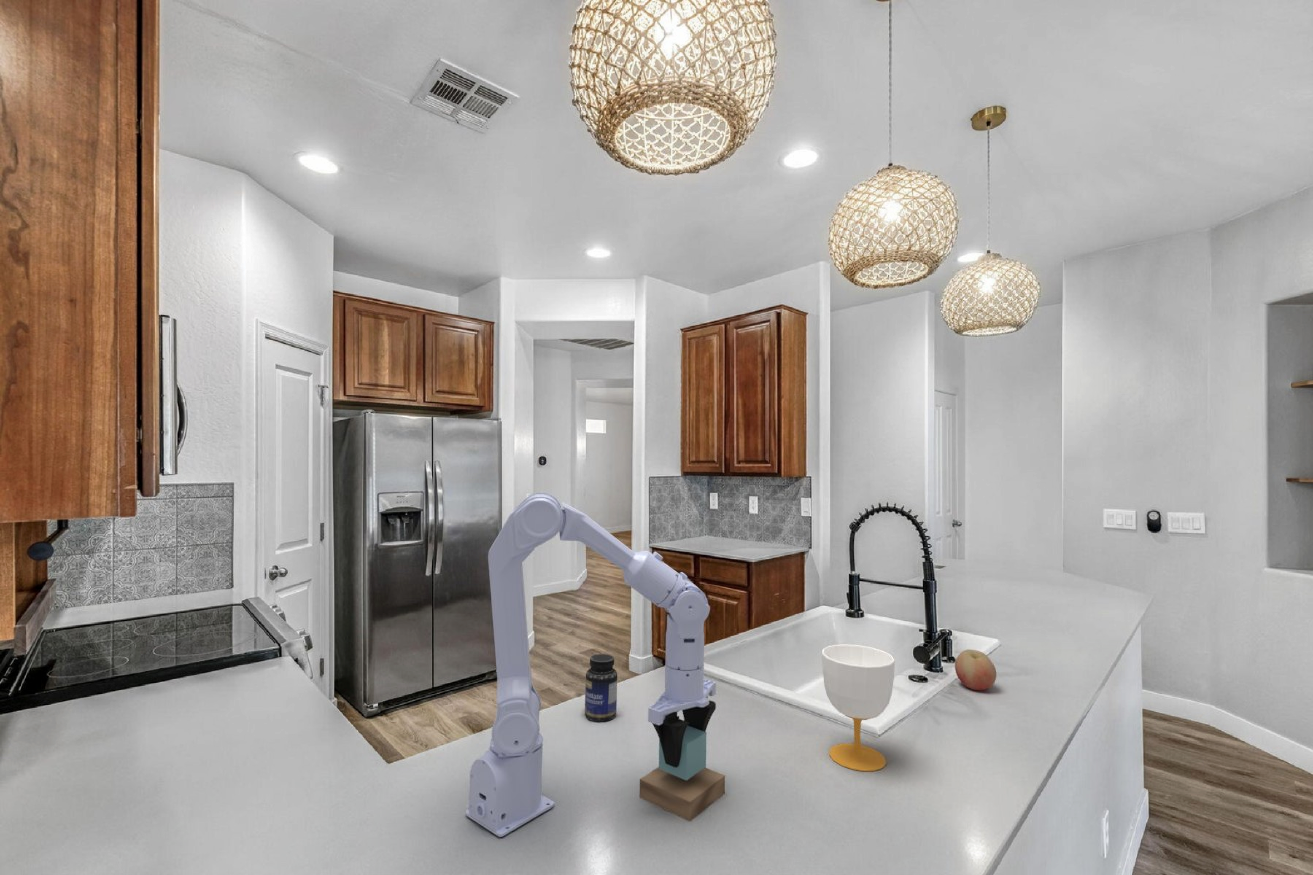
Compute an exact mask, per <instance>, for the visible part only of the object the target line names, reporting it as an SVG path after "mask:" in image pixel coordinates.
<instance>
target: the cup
mask: <svg viewBox="0 0 1313 875" xmlns="http://www.w3.org/2000/svg"><path fill="white" fill-rule="evenodd" d="M821 659H822V660H821V662H822V664H821V665H822V675H823V676H822V677H823V684H824V690H825V694H826V696H827V698H828V700H829V701H830V703H831V706H832V707H833V708H834V709H835V710H836V711H838V712H839V713H840V714H841V715H843V716H845V717H847V718H849V719H852V721H853V730H854V734H853V743H840V744H836V745H833V746H832V747H831V748H830V749H829V757H830V758H831V759H832V760H833V762H835V763H836V764H838V765H839V766H841V767H843V768H846V769H849V770H853V771H859V772H876V771H878V770H882V769H883V768H884V767H885V766H886V765H887V762H886V761H887V760H886V757H885V756H884V755H883V754H881V753H880V752H879V751H878V750H876V749H874V748H872V747H869V746H866V745H862V744H861V727H862V721H868V720H870V719H875V718H877V717H879V716H880V715H881V714H882V713H884V711H885V710H886V708H887V707H888V706H889V704H890V701H891V697H892V694H893V687H894V680H895V664H896V663H895V662H896V661H895V659H894V657H893V655H891V654H890V653H889V652H887V651H884V650H881V649H878V648H875V647H871V646H867V645H859V644H845V643H844V644H833V645H832V644H831V645H828V646H826V647H824V648H822V650H821Z"/></svg>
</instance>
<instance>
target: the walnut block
mask: <svg viewBox="0 0 1313 875" xmlns="http://www.w3.org/2000/svg"><path fill="white" fill-rule="evenodd" d="M725 790H726V775H724V774H723V773H720V772H717V771H715V770H712V769H710V768H708V767H705V768H703V769H702V770H701V771H699V772H698V773H696V774H695V775H694V776H692V777H691V778H689V779H688V780H684V779H682V778H679V777H677V776H675V775H672V774H670V773H668V772H665V771H663V770H660V769H659V766H658V767H656V768H655V769H653V770H652V771H650V772H649V773H647V774H645V775H644V776H642V777H641V778H639V794H638V795H639V798H640V799H643V800H644V801H647V802H649V803H651V804H653V805H655V806H657V807H658V808H661V809H663V810H665V811H667V812H669V813H671V814H674V815H675V816H677V817H680V818H682V819H684V820H686V821H688V822H691V821H693V820H694V819H695V818H696V817H697V816H698V815H700V814H701V813H702V812H703V811H705V810H707V808H708V807H709V806H711V805H713V804H714V803H715V802H716V801H717V800H718V799H720V798H721V797H722V796H724V794H725V793H726V791H725Z"/></svg>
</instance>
